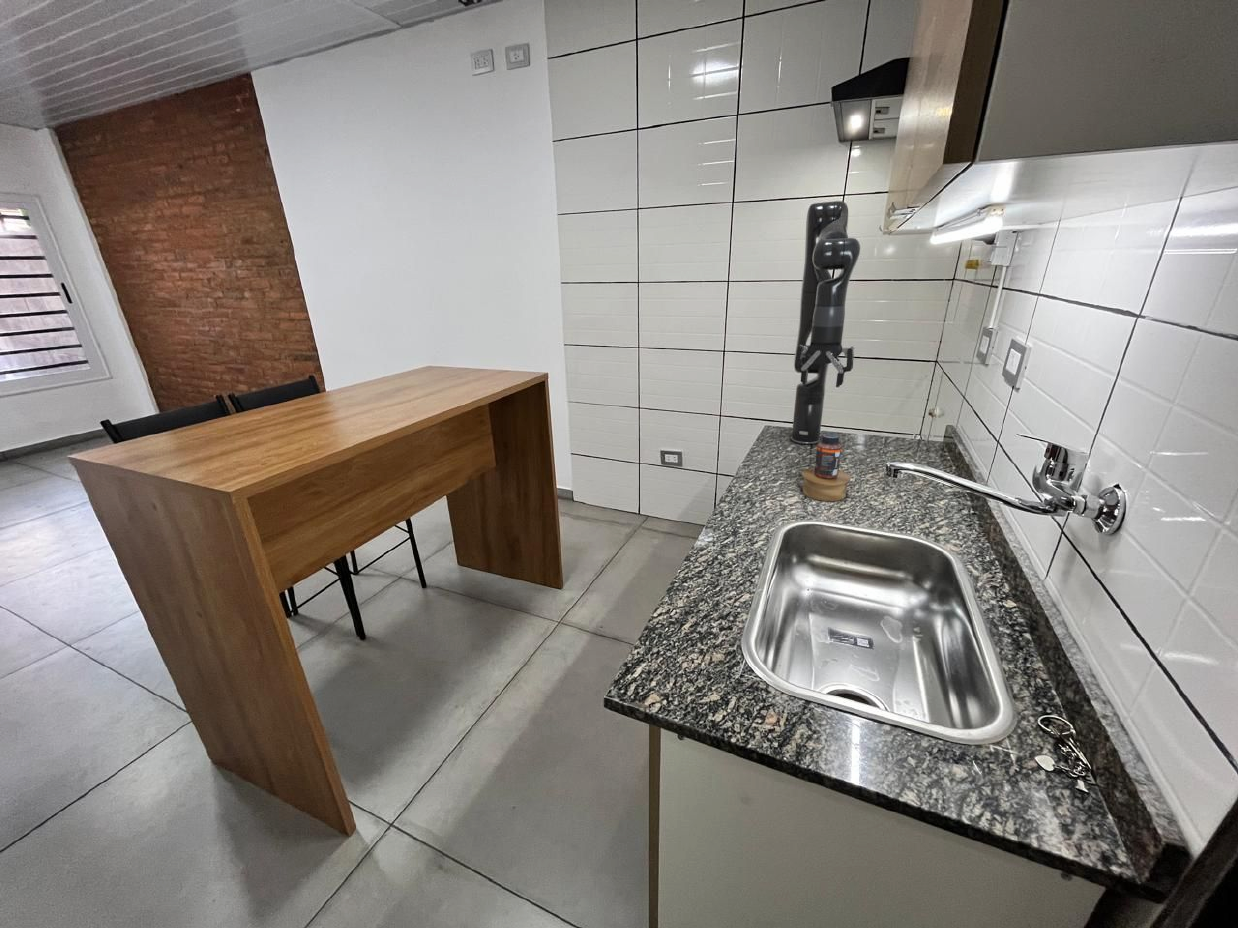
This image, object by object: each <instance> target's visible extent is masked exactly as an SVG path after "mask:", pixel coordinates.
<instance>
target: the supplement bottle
mask: <svg viewBox="0 0 1238 928" xmlns="http://www.w3.org/2000/svg"><path fill="white" fill-rule="evenodd" d="M821 436H822V437H821V440H820V441H819V442H818V443H817V446H816V453H815V462H814V463H815V464H814V468H815V472H814V473H815V475H816V476H818V477H820V478H825V479H833V478H836V477H837V476H838V471H839V470H840V462H841V455H842V448H843V447H842V443H840V442H839V441H840V435H838V434H837V433H830V432H827V433H823V434H822V435H821Z"/></svg>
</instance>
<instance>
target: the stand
mask: <svg viewBox="0 0 1238 928" xmlns="http://www.w3.org/2000/svg"><path fill="white" fill-rule="evenodd" d="M814 472H815V467H810V468H806V469H804V470H803V471H802V472H801V473H802V474H801V476H802V478H803V481H802V493H803V494H804V496H807V497H809V498H811V499H813V500H817V501H823V502H836V501H837V502H838V501H841V500H843V499H845V498H846V497H847V490H848V484H849V483H851V482H850V481H851V476H850V474H848V473H846V472H844V471H842V470H840V469H839V471H838V476H837V477H836V478H833V479H825V478H820V477H818V476H816V475H815V473H814Z"/></svg>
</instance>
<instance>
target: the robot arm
mask: <svg viewBox="0 0 1238 928" xmlns="http://www.w3.org/2000/svg"><path fill="white" fill-rule="evenodd" d="M805 221H806V222H805V242H804V243H805V246H804V266H803V274H802V282H801V283H802V284H801V289H800V291H801V292H800V303H799V304H800V305H799V320H798V321H799V322H798V331H797V337H796V338H797V339H796V345H795V351H794V360H793V361H794V362H793V364H794V365H793V368H794V371H795V372H796V373H798V374H800V383H798V384H797V385H796V389H795V397H794V398H795V399H794V400H795V401H794V411H793V419H792V420H793V421H792V422H793V423H792V429H791V437H790V440H791V441H792V442H794V443H796V444H800V445H816V444H818V443H819V442H820V441H821V440H820V437H821V436H820V435H821V430H822V429H821V428H822V421H823V420H822V419H823V413H824V412H823V411H824V405H825V403H824V402H825V393H826V384H827V376H828V371H829V364H832V366H833V367H834V368H835V369H836V371H837V374H836V383H835V387H836V388H840V387H841V386H842V385H843V384H844V379H845V373H847V372H848V373H849V372H851V371H852V369H853V368H854V358H855V357H854V356H855V347H854V346H850V347H843V345H842V342H843V334H844V328H845V327H844V326H845V317H846V301H847V293H848V287H849V283H850V280H851V277H852V275H853V272H854V269H855V267H856V265H857V262H858V260H859V258H860V254H861V244H860V241H858V239H857V238H855V237H849V236H848V225H849V207H848V205H847V203H846V202H845V201H841V200H835V201H824V202H815V203H812V204H810V205H809V207H808V209H807V213H806V220H805ZM817 239H818V240H817ZM836 270H841V271H840V272H839V274H838V275H837V276H836V277H832V275H831V273H830V271H836ZM809 338H810V342H809V345H808V344H807V343H808V340H809ZM842 353H843V355H844V356H845V357H846V366H844V364H843V363H842V361H841V358H839V356H840V355H841V354H842ZM809 374H816V376H815V377H813V378H811V379H809V380H808V377H809Z"/></svg>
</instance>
